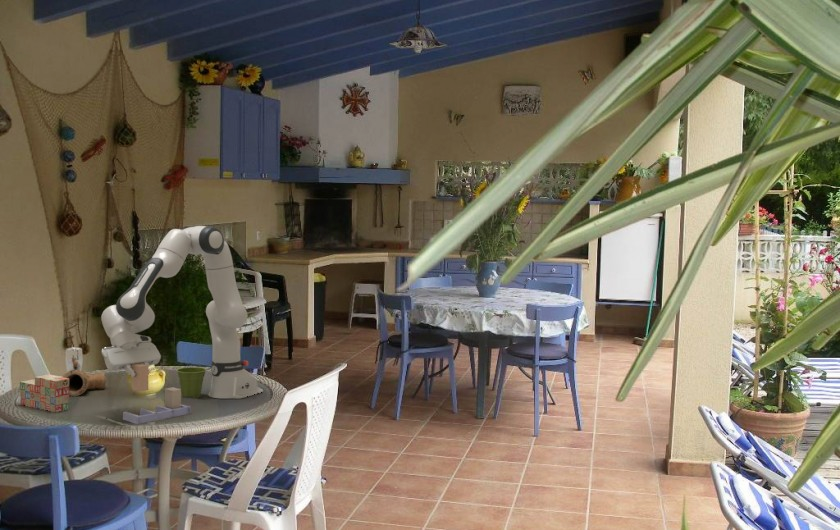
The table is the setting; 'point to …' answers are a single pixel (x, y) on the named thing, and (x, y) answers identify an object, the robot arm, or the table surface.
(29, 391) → the stack of blocks
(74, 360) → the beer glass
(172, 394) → the beige upright block
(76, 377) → the clay pipe
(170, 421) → the table surface
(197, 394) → the plant pot
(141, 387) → the tan rectangular block
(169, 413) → the rack
